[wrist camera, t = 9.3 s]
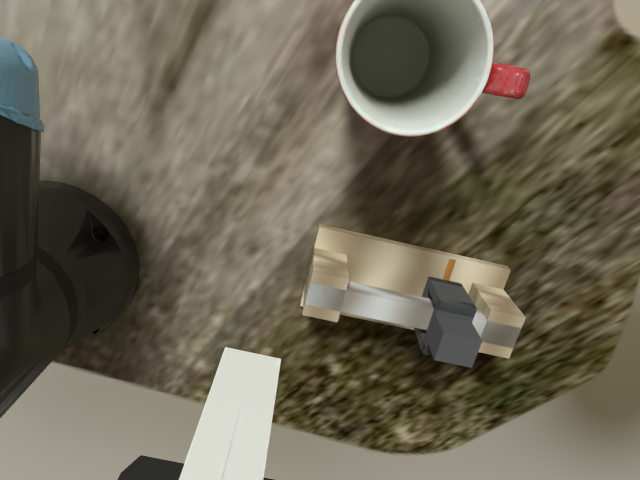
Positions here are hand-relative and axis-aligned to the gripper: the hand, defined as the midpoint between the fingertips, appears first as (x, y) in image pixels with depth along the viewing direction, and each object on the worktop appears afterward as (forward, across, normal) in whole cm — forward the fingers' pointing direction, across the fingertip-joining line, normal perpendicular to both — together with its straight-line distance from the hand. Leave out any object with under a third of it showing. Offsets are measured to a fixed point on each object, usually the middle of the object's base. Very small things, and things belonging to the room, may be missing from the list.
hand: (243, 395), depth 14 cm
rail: (+32, +12, -9) cm, 36 cm away
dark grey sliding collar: (+29, +15, -9) cm, 34 cm away
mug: (+33, +7, +10) cm, 35 cm away
